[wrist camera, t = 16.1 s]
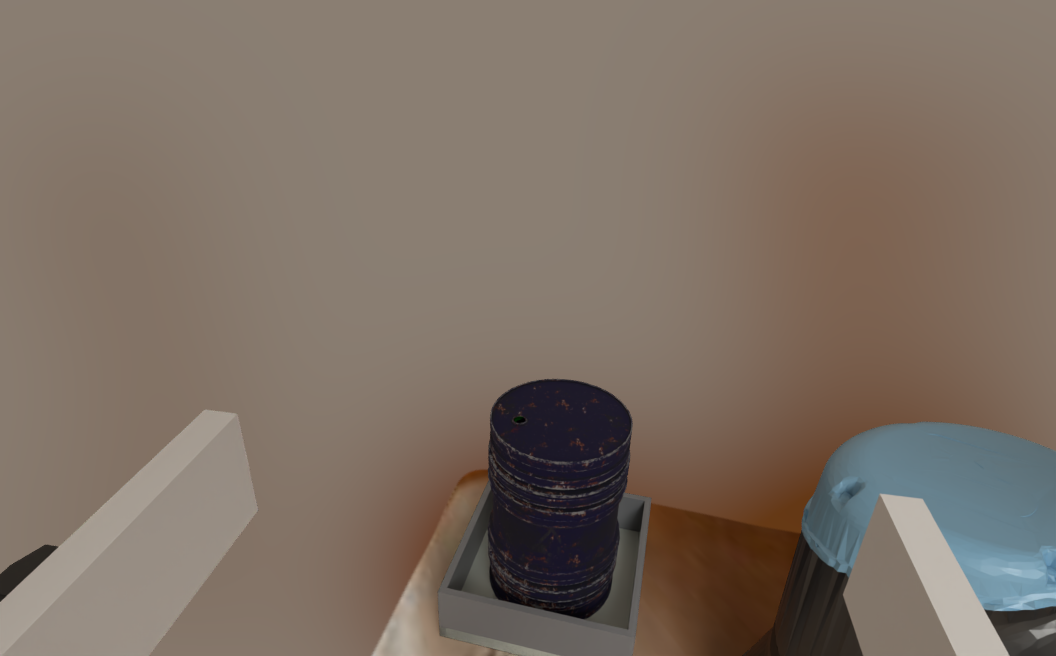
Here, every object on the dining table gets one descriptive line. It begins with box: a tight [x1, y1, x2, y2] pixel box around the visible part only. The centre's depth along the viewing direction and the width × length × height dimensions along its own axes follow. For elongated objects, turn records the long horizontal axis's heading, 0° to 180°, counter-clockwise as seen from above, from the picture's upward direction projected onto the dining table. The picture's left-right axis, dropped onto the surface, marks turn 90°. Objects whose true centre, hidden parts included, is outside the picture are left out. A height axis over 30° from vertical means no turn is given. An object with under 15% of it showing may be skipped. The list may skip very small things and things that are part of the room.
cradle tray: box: [438, 481, 651, 656], centre depth 50 cm, size 14×14×4 cm
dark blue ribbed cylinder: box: [487, 379, 632, 620], centre depth 47 cm, size 10×10×15 cm
